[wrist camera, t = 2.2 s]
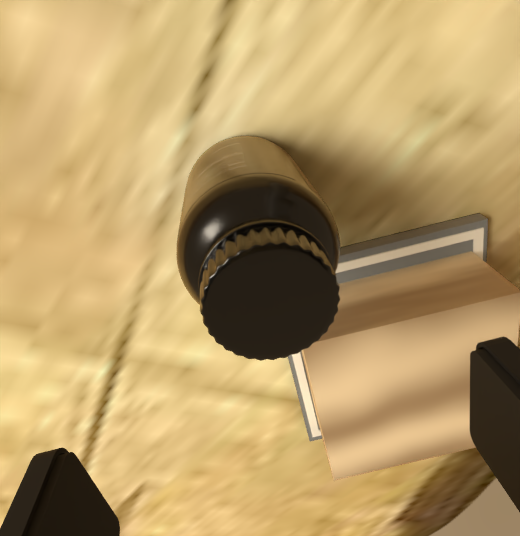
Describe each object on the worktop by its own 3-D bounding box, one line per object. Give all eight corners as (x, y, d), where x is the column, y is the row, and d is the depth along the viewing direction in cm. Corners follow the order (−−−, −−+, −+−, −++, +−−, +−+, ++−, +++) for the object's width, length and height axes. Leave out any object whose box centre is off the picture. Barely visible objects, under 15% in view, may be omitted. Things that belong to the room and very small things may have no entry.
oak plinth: (288, 296, 27) (302, 345, 22) (471, 251, 26) (522, 291, 22) (317, 421, 32) (333, 480, 28) (468, 385, 32) (508, 439, 28)
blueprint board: (264, 266, 27) (266, 274, 26) (479, 213, 26) (488, 219, 25) (307, 431, 34) (310, 442, 33) (473, 391, 34) (481, 401, 33)
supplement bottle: (190, 248, 26) (172, 389, 15) (182, 134, 22) (151, 210, 12) (300, 245, 26) (356, 377, 16) (307, 133, 23) (384, 205, 12)
